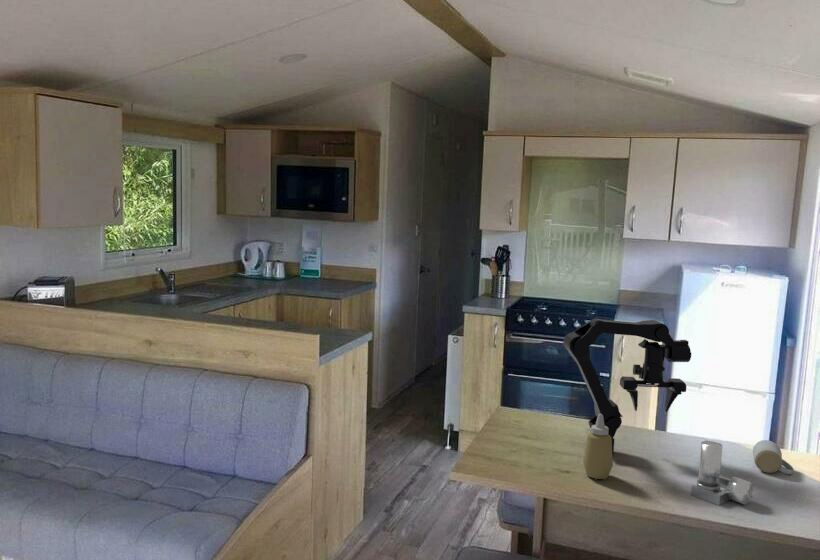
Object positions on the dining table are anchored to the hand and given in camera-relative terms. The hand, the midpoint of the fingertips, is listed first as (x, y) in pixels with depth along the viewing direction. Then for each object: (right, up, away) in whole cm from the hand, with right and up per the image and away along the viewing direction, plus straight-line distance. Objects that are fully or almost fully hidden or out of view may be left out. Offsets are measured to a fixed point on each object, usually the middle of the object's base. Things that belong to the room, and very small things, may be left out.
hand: (650, 411), depth 209 cm
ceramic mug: (+32, -16, -10) cm, 37 cm away
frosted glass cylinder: (+6, -17, -26) cm, 31 cm away
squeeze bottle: (-22, -15, -18) cm, 32 cm away
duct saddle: (+9, -17, -29) cm, 35 cm away
